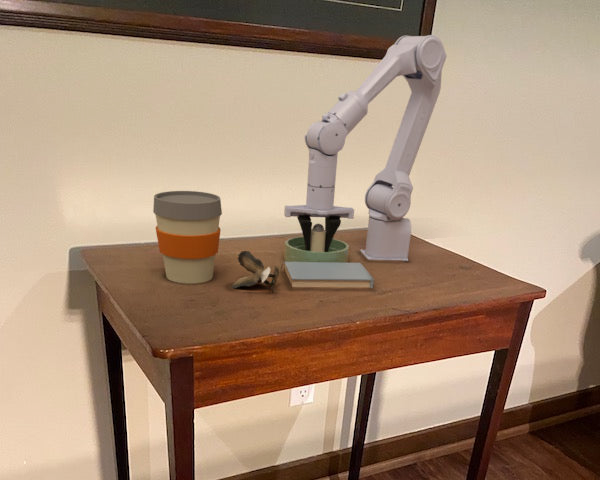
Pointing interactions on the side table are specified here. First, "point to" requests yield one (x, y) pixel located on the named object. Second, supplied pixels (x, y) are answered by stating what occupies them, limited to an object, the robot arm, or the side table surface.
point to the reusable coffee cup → (188, 234)
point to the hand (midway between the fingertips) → (316, 251)
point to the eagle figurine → (255, 271)
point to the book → (328, 274)
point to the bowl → (297, 252)
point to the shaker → (317, 238)
